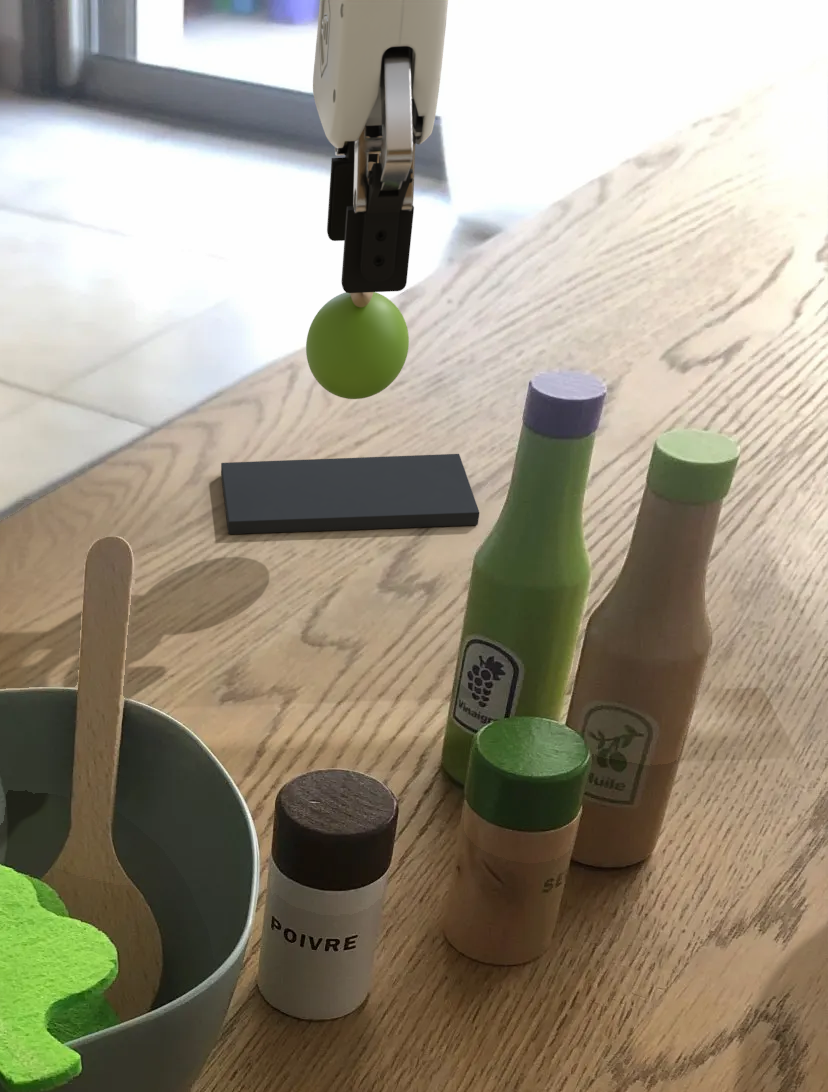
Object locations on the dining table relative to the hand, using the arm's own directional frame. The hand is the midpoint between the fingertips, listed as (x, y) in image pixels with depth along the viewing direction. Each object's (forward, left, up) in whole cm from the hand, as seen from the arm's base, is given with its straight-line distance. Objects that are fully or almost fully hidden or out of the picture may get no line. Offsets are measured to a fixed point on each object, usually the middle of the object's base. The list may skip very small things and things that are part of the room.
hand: (365, 259), depth 85 cm
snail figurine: (0, 0, -7) cm, 7 cm away
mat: (0, 0, -13) cm, 13 cm away
